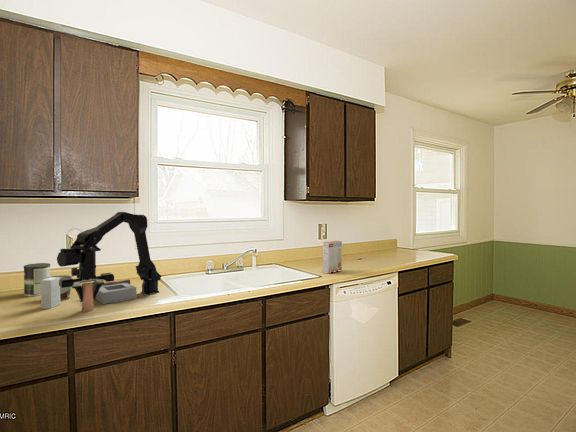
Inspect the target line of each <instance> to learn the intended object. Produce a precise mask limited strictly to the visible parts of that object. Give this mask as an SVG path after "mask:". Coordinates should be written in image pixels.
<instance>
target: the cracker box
mask: <svg viewBox="0 0 576 432" xmlns="http://www.w3.org/2000/svg"><path fill="white" fill-rule="evenodd" d="M342 245H343V242H342V241H341V240H331V241H323V242H322V273H323V272H327V273H326V274H328V273H330V272H334V271H338V270H343V251H342V250H343V246H342ZM330 274H331V273H330Z"/></svg>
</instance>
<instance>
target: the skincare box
mask: <svg viewBox="0 0 576 432" xmlns="http://www.w3.org/2000/svg"><path fill="white" fill-rule="evenodd" d="M59 280H60V277H50V278H47V279H44V280H41V295H40V308H41V309H42V310H43V309H45V310H46V309H54V308H55V307H57V306H60V305H61V300H60V286H59Z"/></svg>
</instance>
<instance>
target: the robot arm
mask: <svg viewBox="0 0 576 432" xmlns="http://www.w3.org/2000/svg"><path fill="white" fill-rule="evenodd" d="M122 223H126V224H128V226H129V229H130V230H131V232H132V233H133V234H134V239H135V245H136V249H137V254H138V255H137V256H138V258H139V259H138V260H139V263H138V265H135V269H136V274H137V275H138V277H139V278H140V280H141V281H142V283H141V293H143V294H145V295H150V294H151V295H152V294H157V293H160V290H159V281H160V280H161V278H162V275H161V274H160V273H159V272H158V271H157V268H156V264H155V263H154V262H153V260H152V259H151V255H150V251H149V244H148V239H147V234H146V231H147V228H148V217H147V216H146V215H144V214H133V213H129V212H127V211H118V212H116V213H115V214H114V215H112V216H111V217H109V218H107V219H106V220H105V221H103V222H101V223H100V224H98V225H96V227H93V228H90V229H89V228H88V229H86V230H84V231H81V232H79V233H78V234H77V235H76V239H75V240H74V242H73V243H72V244H71V246H70V247H69V248H60V249H59V250H60V252H58V253H57V254H58V255H57V256H56V261H57V262H56V263H57V265H58V266H59V267H61V268H62V267H68V266H69V267H70V266H76V265H78V267H72V268H71V270H70V271H71V272H70V274H71V275H70V276H72V278H73V277H76V278H73V279H72V278H71V277H69V278H61V279H60V280H59V286H60V287H61V288H65V287H71V289H74V290H75V292H76V293H77V295H78V299H79V301H80V303H82V300H83V296H82V284H83V283H93V301H94V300H96V299H95V297H96V295H97V293H98V291H99V289H100V287H101V286H102V284H105V283H106V282H113V281H115V275H114V274H113V273H112V272H103V273H100V275H97V273H96V272H97V271H96V269H97V265H96V261H97V258H96V255H97V254H96V253H97V252H100V251H101V250H102V249H101V248H99V247H98V244H99V242H101V241H102V240H103V238H104V236H105V235H106V234H108V233H109V232H111V231H112V230H113V229H116V228H117V227H118V226H120V225H121V224H122Z"/></svg>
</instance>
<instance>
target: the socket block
mask: <svg viewBox="0 0 576 432" xmlns="http://www.w3.org/2000/svg"><path fill="white" fill-rule="evenodd" d="M134 299H137V287H136V286H134V285H132V284H131V283H130V284H128V283H119V284H112V285H105V286H101V287H100V289H99V291H98V293H97V295H96V297H95V300H97V301H98V303H99V302H100V304H102V305H105V304H112V302H113V303H117V302H118V303H119V302H123V301H128V300H129V301H130V300H134Z"/></svg>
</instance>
